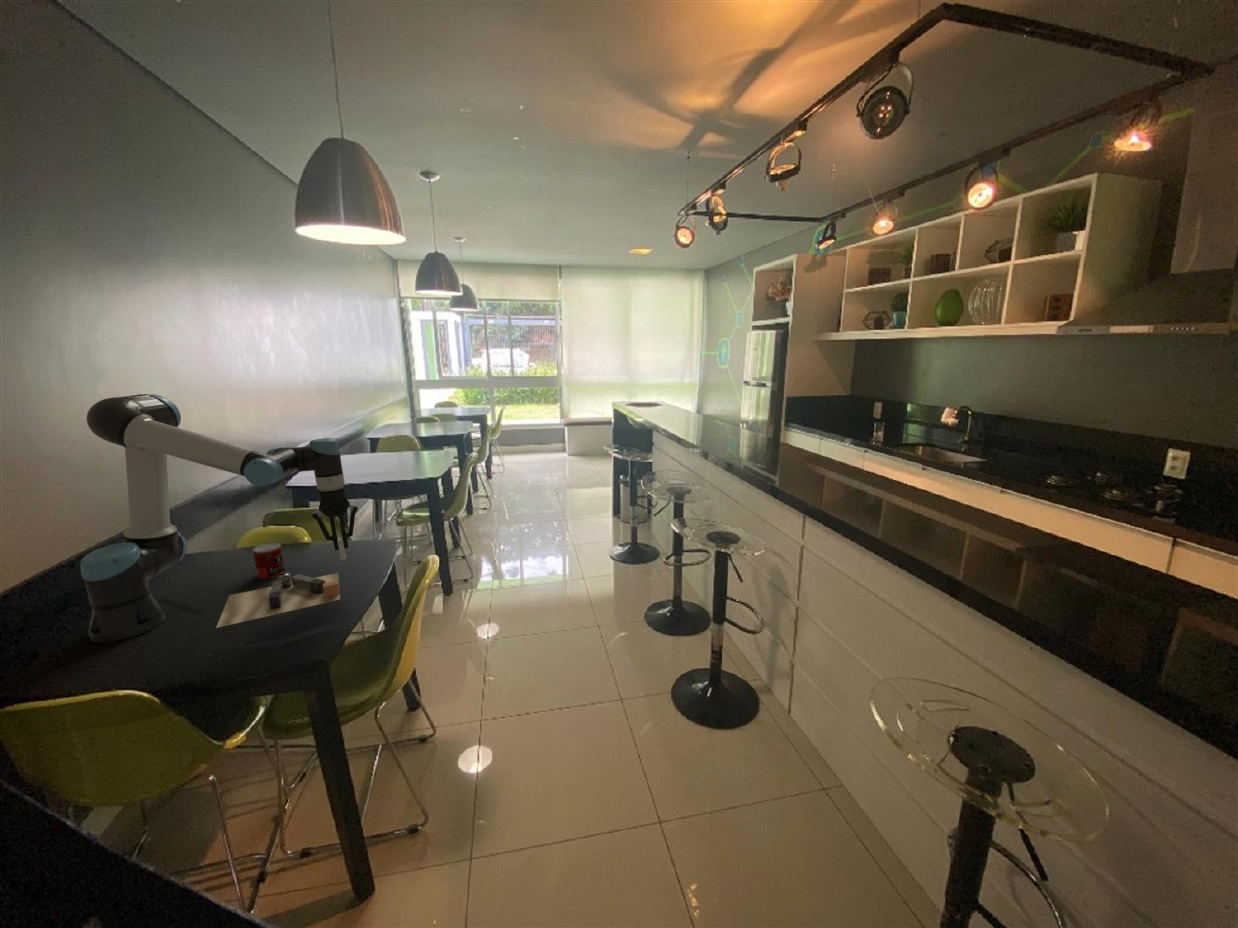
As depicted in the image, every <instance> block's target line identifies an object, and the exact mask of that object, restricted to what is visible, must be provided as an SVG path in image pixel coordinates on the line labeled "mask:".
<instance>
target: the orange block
mask: <svg viewBox="0 0 1238 928" xmlns="http://www.w3.org/2000/svg"><path fill="white" fill-rule="evenodd" d="M323 589H324V595H325V597H329V596H334V595H338V594H340V595H341V593H340V583H339V584H338V580H336V581H332V582H327V583H323Z"/></svg>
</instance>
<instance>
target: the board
mask: <svg viewBox="0 0 1238 928" xmlns="http://www.w3.org/2000/svg"><path fill="white" fill-rule="evenodd" d="M339 575H340V574H339V572H336V573H331V574H327V575H321V576H317V577H314V578H315V579H321V580H324V581H325V583H327V582H332V581H336V580H338V584H339V585H340V576H339ZM271 588H272V586H268V587H263V588H258V589H255V590H254V589H253V590H248V591H244V592H240V593H239V592H238V593H234V594H229V595H228V598H227V600H226V603H225V606H224V608H223V609H222V613H221V615H220V617H219V620H218V622H217V625H216V627H215V629H217V628H218V629H219V628H222V627H226V626H230V625H231V626H232V625H236V624H239V623H244V622H248V621H253V620H257V619H261V618H266V617H270V616H274V615H278V614H283V613H287V612H288V613H289V612H292V611H296V610H301V609H305V608H309V607H310V608H311V607H314V606H318V605H321V604H322V605H323V604H327V603H331V602H335V601H340V600H341V596H340V595H341V593H340V594H338V595H334V596H329V597H325V595H324V593H322V594H320V595H319V594H315V593H312V592H309V591H305V590H302V589H298V588H295V587H293V585H292V586H290V587H288V588H284V592H283V598H282V604H281V607H280V608H276V609H270V603H269V595H270V592H271Z"/></svg>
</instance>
